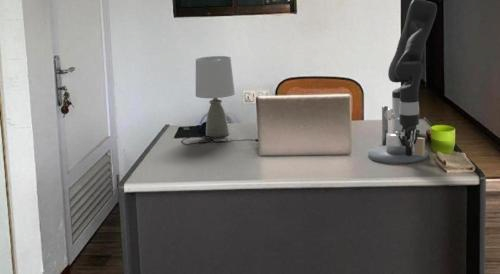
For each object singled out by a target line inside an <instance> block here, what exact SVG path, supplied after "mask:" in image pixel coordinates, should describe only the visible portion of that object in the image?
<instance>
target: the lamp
mask: <svg viewBox="0 0 500 274" xmlns="http://www.w3.org/2000/svg"><path fill="white" fill-rule="evenodd" d="M231 58H232V57H230V56H226V55H224V56H223V55H215V56H213V55H212V56H204V57H198V58H197V57H196V59H195V97H197V98H200V99H211V100H209V101H208V102H209V104H210V106H209V108H208V112H207V116H206V124H205V126H206V127H205V135H206V137H208V136H209V138H223V137H226V136H229V134H230V130H229V125H228V120H227V115H226V113H225V110H224V108H223V106H222V99H221V98H228V97H232V96H234V95H235V84H234V77H233V76H234V74H233V69H232V61H231V60H232V59H231Z"/></svg>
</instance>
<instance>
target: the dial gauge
mask: <svg viewBox="0 0 500 274" xmlns="http://www.w3.org/2000/svg"><path fill="white" fill-rule="evenodd" d="M395 116H396V113H395V111H394V110H392V108H391V109H390V108H388V106H385V105H382V106H381V127H382V128H381V129H382V130H381V131H382V132H381V133H382V134H381V144H380V145H379V146H386V134H387V133H389V127H388V126H389V121H392V119H394V118H395Z"/></svg>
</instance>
